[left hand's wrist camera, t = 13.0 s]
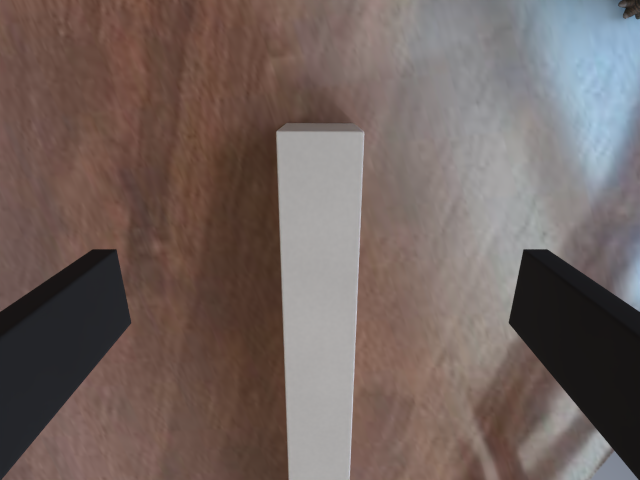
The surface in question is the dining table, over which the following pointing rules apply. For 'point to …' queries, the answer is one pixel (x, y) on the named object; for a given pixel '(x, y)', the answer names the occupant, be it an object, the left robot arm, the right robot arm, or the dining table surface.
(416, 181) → the dining table surface
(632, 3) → the toy dinosaur
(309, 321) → the post
